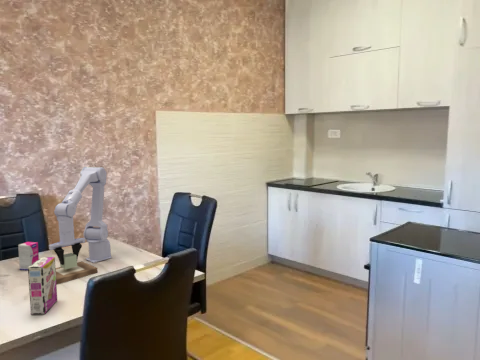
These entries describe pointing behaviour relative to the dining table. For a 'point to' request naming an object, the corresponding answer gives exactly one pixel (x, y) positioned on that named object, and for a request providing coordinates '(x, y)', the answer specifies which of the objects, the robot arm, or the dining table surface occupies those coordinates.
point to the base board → (74, 272)
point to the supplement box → (28, 254)
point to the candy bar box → (42, 285)
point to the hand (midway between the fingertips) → (68, 262)
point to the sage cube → (69, 261)
